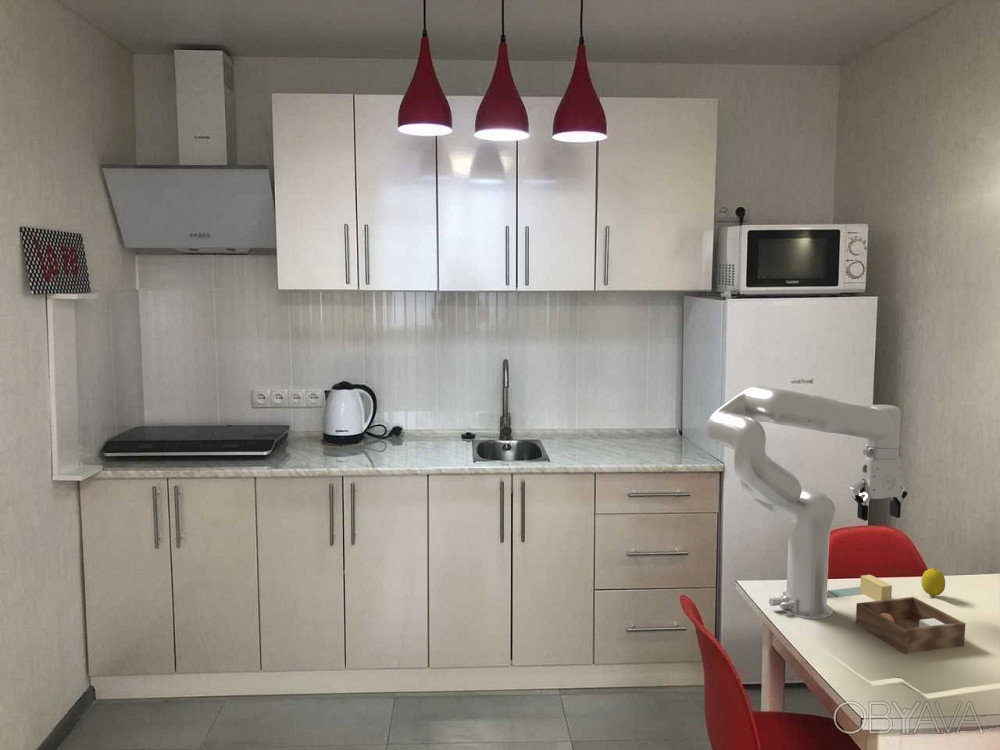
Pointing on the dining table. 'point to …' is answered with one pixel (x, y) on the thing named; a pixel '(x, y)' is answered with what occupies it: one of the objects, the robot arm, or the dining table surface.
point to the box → (910, 625)
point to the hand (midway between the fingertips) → (878, 517)
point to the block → (929, 622)
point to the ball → (888, 616)
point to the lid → (867, 589)
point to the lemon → (933, 582)
